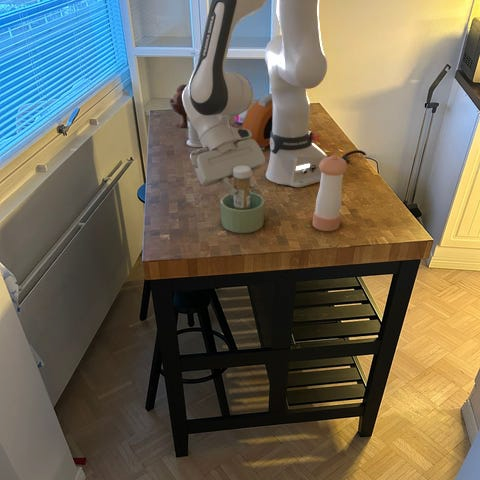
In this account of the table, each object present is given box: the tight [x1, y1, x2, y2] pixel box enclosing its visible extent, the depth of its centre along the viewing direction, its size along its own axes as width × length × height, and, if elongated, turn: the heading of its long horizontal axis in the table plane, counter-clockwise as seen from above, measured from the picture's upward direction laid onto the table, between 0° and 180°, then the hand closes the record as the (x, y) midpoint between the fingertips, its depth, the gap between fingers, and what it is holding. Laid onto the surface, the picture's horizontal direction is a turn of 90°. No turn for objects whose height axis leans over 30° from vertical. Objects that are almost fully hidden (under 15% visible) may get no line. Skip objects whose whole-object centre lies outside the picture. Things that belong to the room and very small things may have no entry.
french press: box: [186, 68, 203, 148], centre depth 170 cm, size 10×12×25 cm
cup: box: [220, 191, 265, 234], centre depth 129 cm, size 12×12×6 cm
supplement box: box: [235, 91, 255, 125], centre depth 191 cm, size 6×6×12 cm
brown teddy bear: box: [169, 84, 188, 128], centre depth 188 cm, size 11×11×15 cm
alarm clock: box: [241, 93, 273, 151], centre depth 172 cm, size 23×9×17 cm, turn 129°
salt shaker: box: [312, 154, 348, 232], centre depth 123 cm, size 7×7×19 cm
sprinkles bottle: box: [233, 165, 251, 210], centre depth 125 cm, size 5×5×14 cm
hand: (243, 190), depth 124 cm, fingers closed on sprinkles bottle, 4 cm apart
